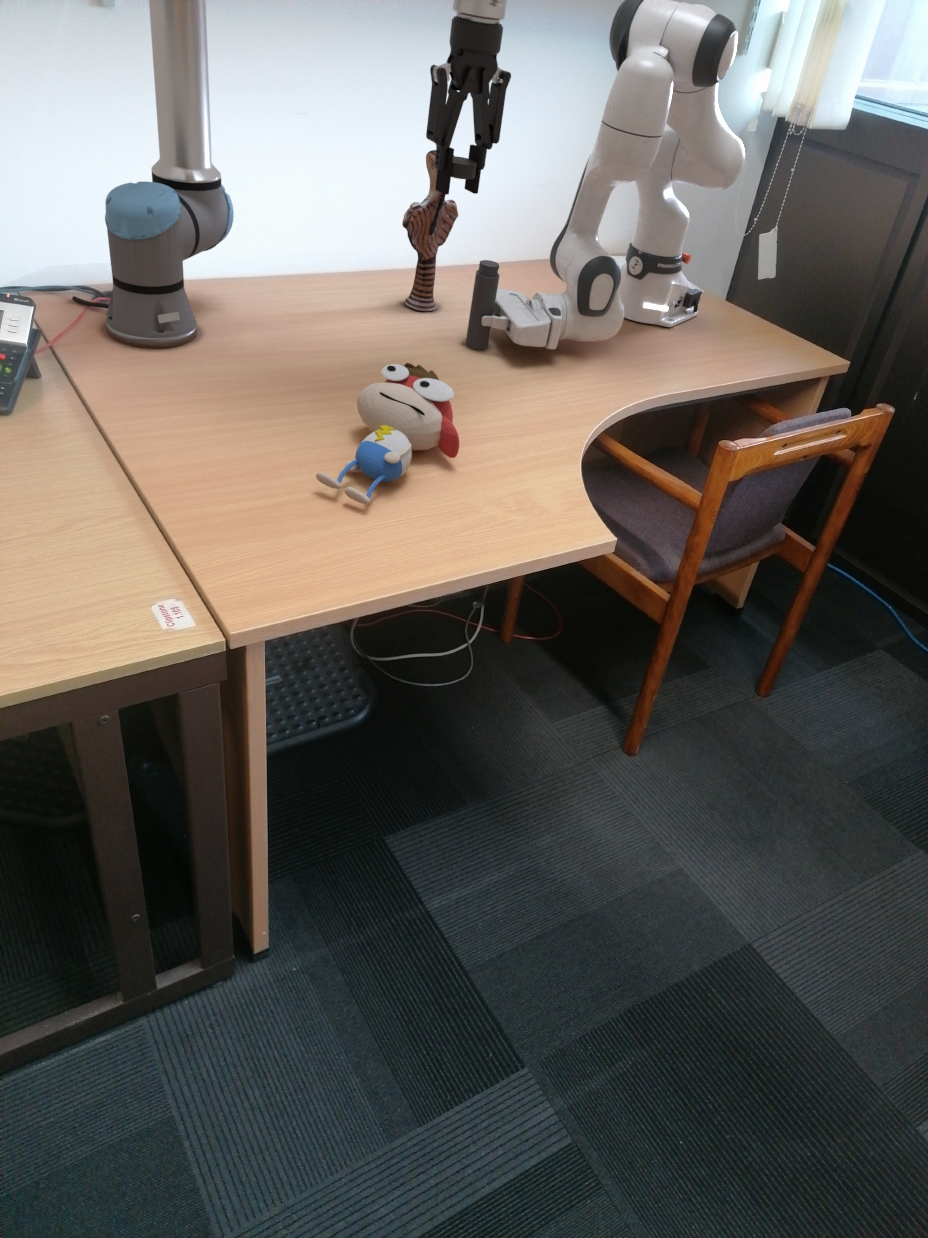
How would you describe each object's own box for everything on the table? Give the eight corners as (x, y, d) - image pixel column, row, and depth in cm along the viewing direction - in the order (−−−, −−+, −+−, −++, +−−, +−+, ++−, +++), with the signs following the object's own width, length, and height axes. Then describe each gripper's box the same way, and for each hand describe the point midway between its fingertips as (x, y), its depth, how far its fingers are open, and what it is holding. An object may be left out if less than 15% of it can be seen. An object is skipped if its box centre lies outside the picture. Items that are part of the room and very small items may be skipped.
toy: (278, 428, 121) (396, 343, 140) (277, 485, 128) (389, 398, 148) (391, 486, 117) (497, 391, 136) (384, 542, 124) (485, 444, 143)
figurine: (429, 292, 193) (447, 140, 175) (457, 304, 190) (478, 150, 172) (386, 306, 183) (400, 146, 165) (414, 318, 180) (432, 157, 162)
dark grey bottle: (487, 351, 173) (501, 268, 163) (465, 348, 173) (477, 265, 163) (487, 342, 177) (500, 261, 167) (465, 339, 176) (477, 257, 166)
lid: (438, 169, 141) (440, 154, 140) (467, 171, 143) (469, 156, 142) (449, 178, 138) (451, 163, 137) (479, 179, 140) (481, 165, 138)
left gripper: (441, 17, 121) (422, 199, 135) (542, 27, 130) (514, 196, 145) (411, 8, 125) (396, 185, 140) (511, 18, 135) (487, 183, 149)
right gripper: (529, 281, 180) (464, 278, 176) (565, 320, 165) (495, 318, 161) (523, 312, 184) (460, 309, 180) (558, 353, 169) (489, 351, 165)
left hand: (456, 190), depth 142 cm, fingers closed on lid, 5 cm apart
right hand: (477, 313), depth 170 cm, fingers closed on dark grey bottle, 4 cm apart
